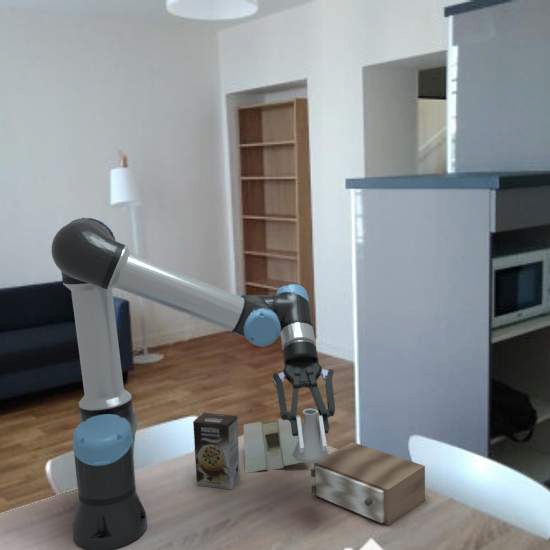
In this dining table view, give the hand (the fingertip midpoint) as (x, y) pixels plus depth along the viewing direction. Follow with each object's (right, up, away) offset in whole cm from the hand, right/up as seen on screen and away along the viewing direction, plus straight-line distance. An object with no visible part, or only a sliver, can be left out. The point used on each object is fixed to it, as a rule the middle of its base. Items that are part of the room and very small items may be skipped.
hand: (313, 449), depth 131 cm
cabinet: (+13, -15, +15) cm, 25 cm away
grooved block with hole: (-8, -13, +36) cm, 39 cm away
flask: (0, -3, +4) cm, 5 cm away
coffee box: (-21, -15, +25) cm, 36 cm away
